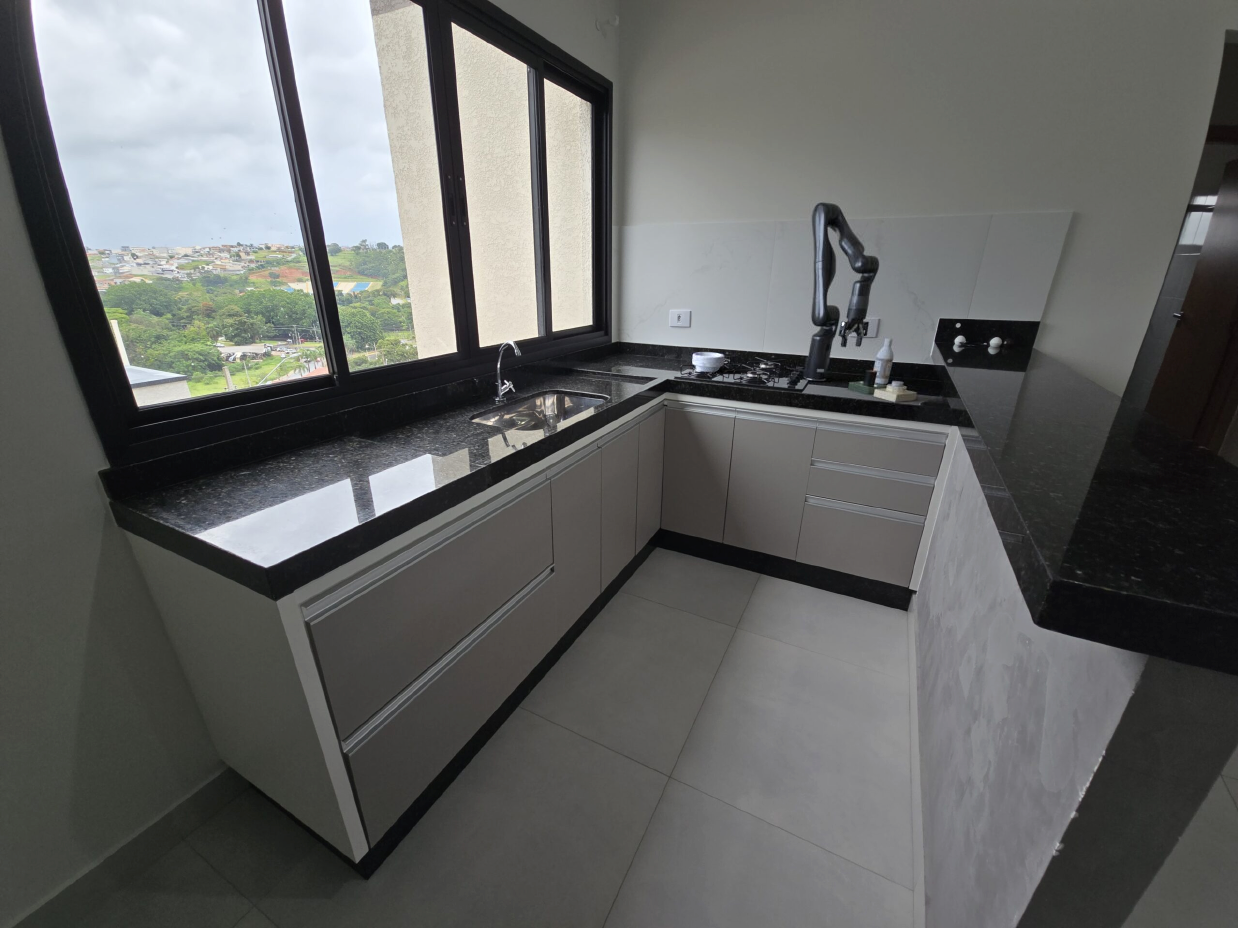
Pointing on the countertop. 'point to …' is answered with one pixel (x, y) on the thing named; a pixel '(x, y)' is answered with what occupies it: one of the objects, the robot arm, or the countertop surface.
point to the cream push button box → (895, 393)
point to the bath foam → (884, 362)
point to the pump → (897, 384)
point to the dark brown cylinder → (870, 377)
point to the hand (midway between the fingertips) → (850, 346)
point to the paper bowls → (708, 361)
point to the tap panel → (865, 387)
